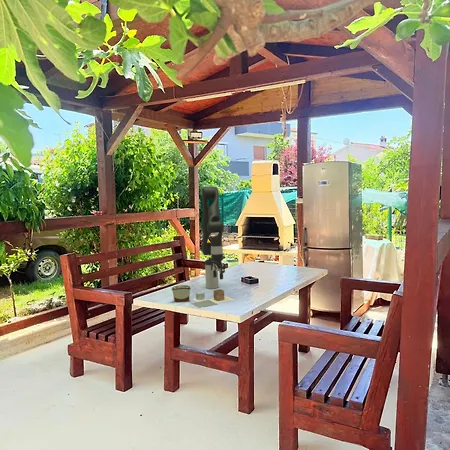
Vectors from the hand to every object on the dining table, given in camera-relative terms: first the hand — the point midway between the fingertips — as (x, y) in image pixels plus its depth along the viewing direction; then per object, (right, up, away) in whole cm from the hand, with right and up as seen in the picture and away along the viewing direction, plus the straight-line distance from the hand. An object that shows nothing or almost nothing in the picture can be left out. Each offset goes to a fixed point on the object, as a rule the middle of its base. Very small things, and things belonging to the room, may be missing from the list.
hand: (218, 278), depth 245 cm
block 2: (+1, -14, +1) cm, 14 cm away
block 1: (-12, -14, +4) cm, 19 cm away
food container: (-23, -15, +3) cm, 28 cm away
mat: (-8, -15, -7) cm, 19 cm away
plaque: (-12, -15, +4) cm, 19 cm away
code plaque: (+1, -14, +1) cm, 14 cm away
